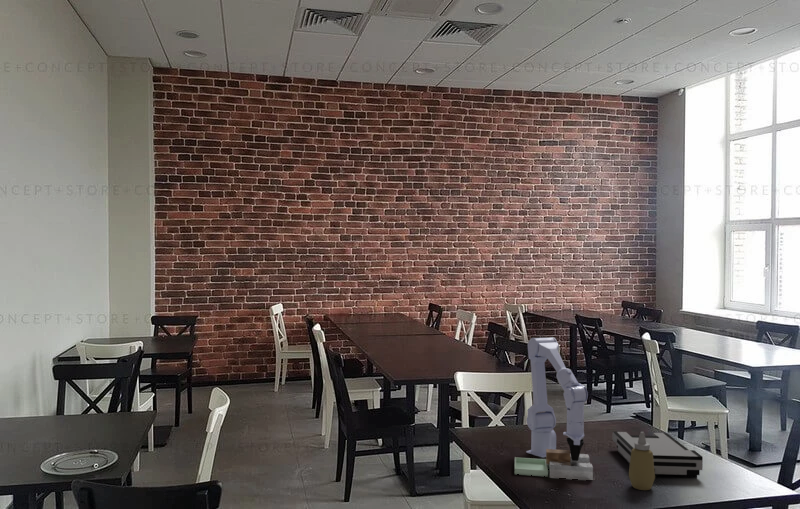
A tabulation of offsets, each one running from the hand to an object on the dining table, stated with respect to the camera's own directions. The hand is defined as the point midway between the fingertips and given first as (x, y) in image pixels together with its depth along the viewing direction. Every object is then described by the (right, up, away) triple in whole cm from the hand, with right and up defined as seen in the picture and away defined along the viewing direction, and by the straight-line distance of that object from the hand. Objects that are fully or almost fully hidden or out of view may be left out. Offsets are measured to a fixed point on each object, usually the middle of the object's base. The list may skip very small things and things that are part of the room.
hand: (574, 459), depth 216 cm
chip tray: (-15, -4, +3) cm, 16 cm away
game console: (+32, -5, +11) cm, 34 cm away
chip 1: (-7, -1, +2) cm, 8 cm away
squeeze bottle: (+18, -5, -13) cm, 23 cm away
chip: (-4, -1, +1) cm, 4 cm away
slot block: (-2, -4, 0) cm, 5 cm away
